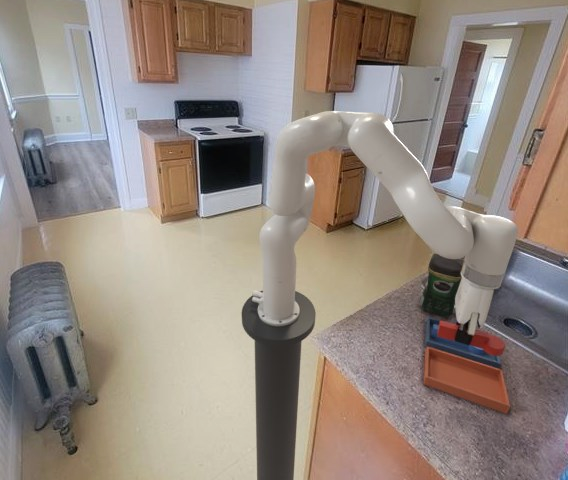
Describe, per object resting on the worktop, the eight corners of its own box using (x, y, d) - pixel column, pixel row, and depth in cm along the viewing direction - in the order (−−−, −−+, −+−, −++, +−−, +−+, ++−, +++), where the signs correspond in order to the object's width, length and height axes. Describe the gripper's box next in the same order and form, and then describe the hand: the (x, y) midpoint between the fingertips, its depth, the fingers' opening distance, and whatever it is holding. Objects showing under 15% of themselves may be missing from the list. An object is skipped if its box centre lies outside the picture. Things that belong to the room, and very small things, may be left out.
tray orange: (423, 384, 77) (425, 377, 76) (424, 352, 86) (426, 345, 85) (506, 414, 71) (510, 406, 70) (499, 376, 79) (502, 369, 78)
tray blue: (425, 347, 87) (426, 341, 86) (426, 323, 96) (427, 316, 95) (498, 371, 81) (501, 363, 80) (492, 342, 90) (494, 335, 89)
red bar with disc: (437, 340, 75) (440, 329, 74) (437, 327, 79) (439, 316, 78) (504, 358, 70) (508, 346, 69) (501, 344, 74) (504, 332, 73)
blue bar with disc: (431, 340, 89) (433, 331, 88) (431, 329, 93) (433, 320, 91) (486, 357, 84) (489, 348, 83) (484, 345, 88) (487, 336, 86)
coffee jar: (452, 305, 103) (466, 256, 96) (452, 321, 97) (467, 269, 89) (420, 296, 107) (432, 248, 100) (418, 310, 101) (429, 260, 93)
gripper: (459, 251, 76) (443, 312, 83) (464, 289, 62) (444, 358, 70) (496, 258, 73) (476, 321, 80) (509, 300, 60) (484, 371, 67)
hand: (461, 338), depth 75 cm, fingers closed on red bar with disc
